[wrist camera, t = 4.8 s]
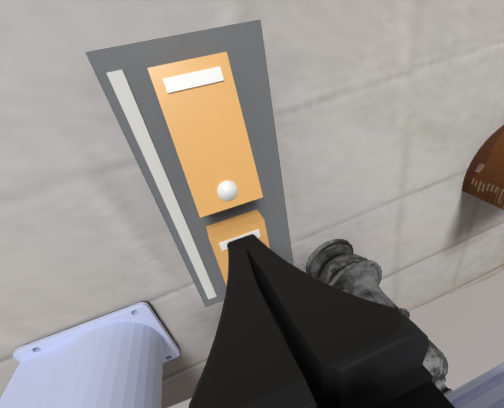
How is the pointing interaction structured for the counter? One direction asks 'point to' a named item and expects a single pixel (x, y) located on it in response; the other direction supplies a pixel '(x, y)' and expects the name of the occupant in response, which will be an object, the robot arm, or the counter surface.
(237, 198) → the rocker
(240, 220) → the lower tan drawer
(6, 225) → the counter surface
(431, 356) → the salt shaker
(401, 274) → the counter surface
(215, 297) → the rocker switch panel
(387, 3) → the counter surface
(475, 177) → the food container
